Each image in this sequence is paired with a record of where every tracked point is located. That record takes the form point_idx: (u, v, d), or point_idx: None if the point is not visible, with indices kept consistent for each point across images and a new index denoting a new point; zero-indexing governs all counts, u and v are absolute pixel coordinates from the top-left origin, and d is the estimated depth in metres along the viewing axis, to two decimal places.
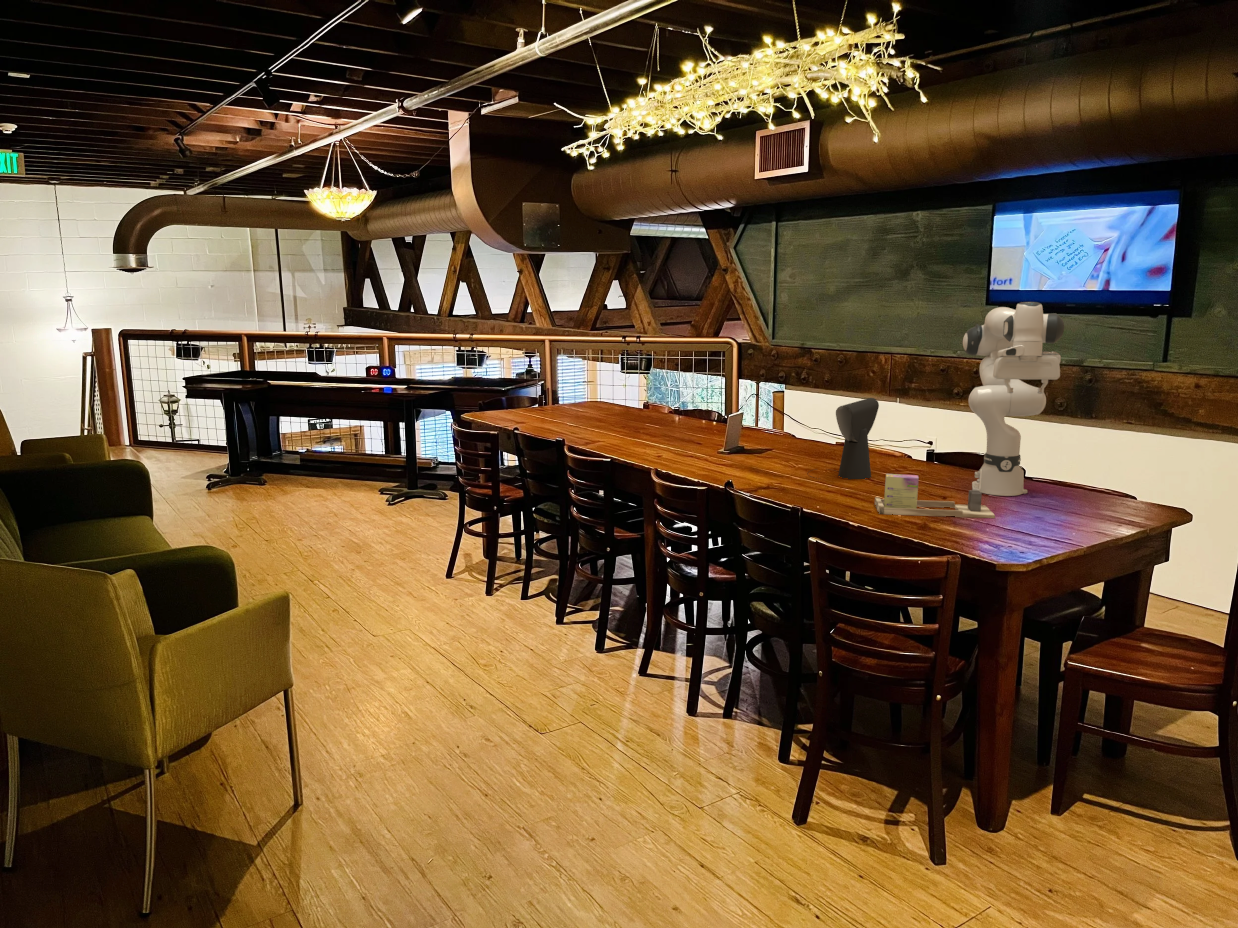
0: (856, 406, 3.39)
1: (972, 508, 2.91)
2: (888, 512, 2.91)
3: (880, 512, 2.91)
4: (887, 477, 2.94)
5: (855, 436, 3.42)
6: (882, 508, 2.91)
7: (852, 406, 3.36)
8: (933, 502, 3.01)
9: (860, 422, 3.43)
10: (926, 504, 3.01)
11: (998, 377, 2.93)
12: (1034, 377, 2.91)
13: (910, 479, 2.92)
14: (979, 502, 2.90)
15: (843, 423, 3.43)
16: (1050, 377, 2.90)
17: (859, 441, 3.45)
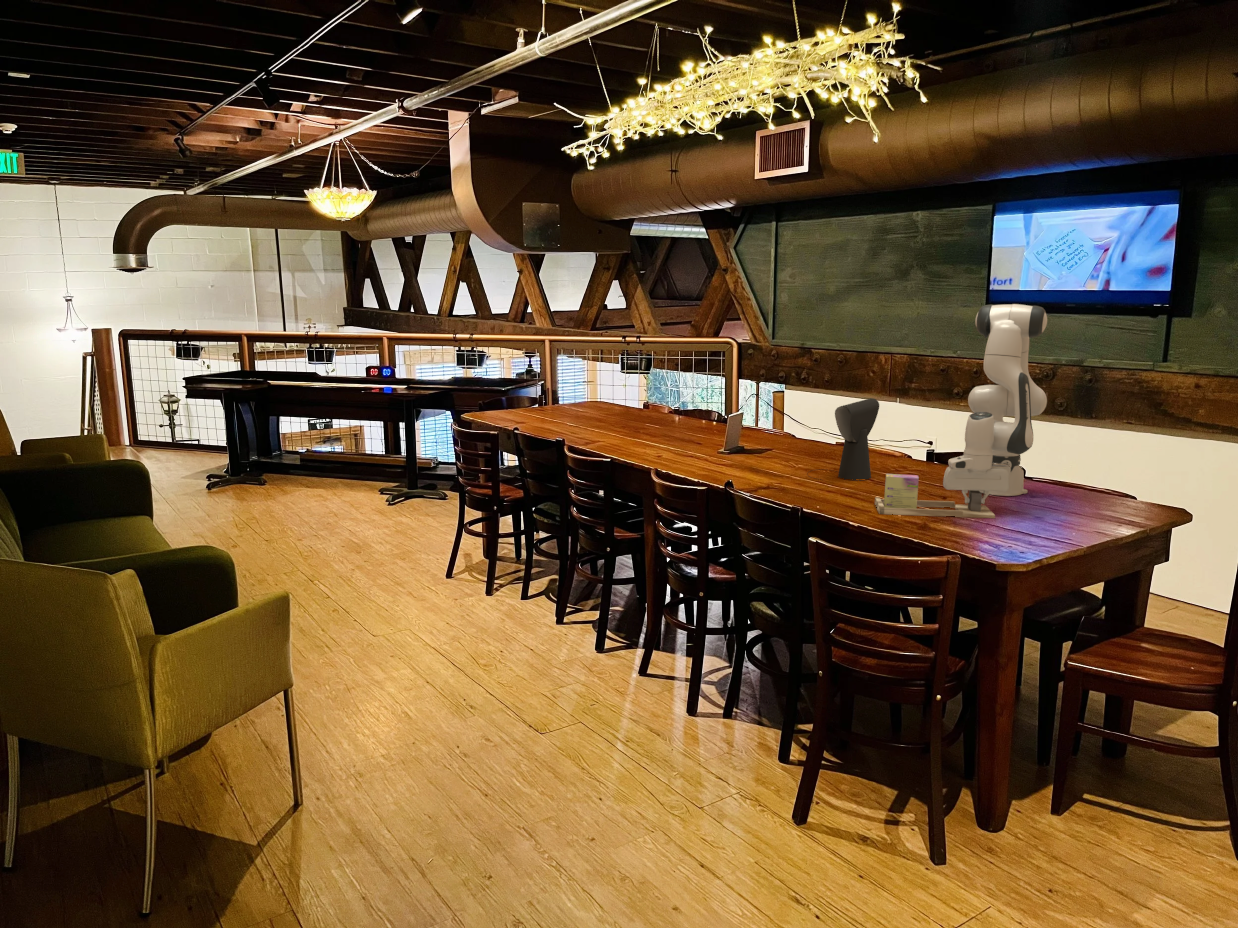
0: (855, 406, 3.38)
1: (972, 508, 2.91)
2: (888, 512, 2.91)
3: (880, 512, 2.91)
4: (887, 477, 2.94)
5: (854, 437, 3.40)
6: (882, 508, 2.91)
7: (851, 406, 3.35)
8: (933, 502, 3.01)
9: (859, 423, 3.42)
10: (926, 504, 3.01)
11: (947, 488, 2.91)
12: (983, 489, 2.90)
13: (910, 479, 2.92)
14: (979, 502, 2.90)
15: (842, 423, 3.42)
16: (999, 489, 2.89)
17: (859, 442, 3.44)
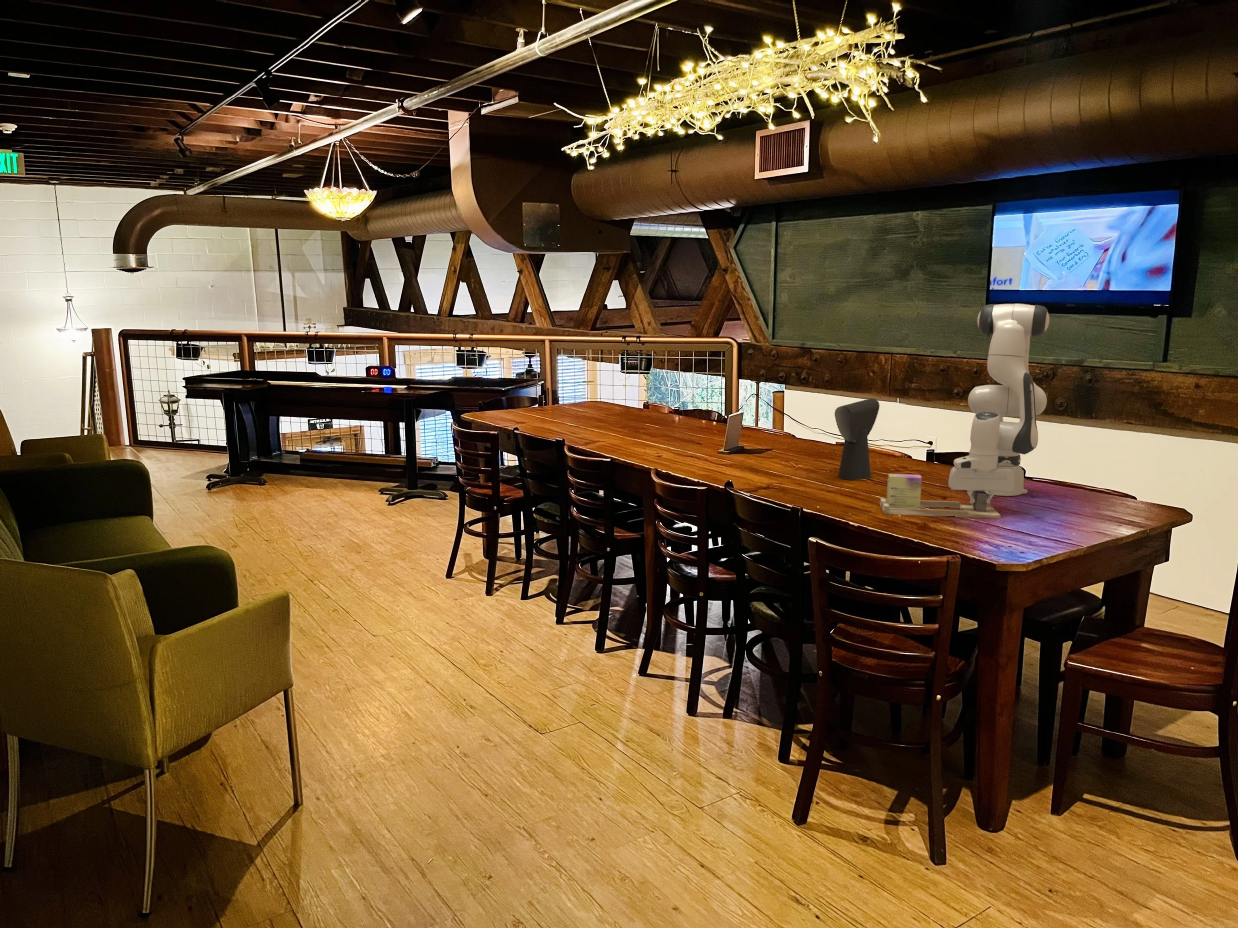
0: (855, 406, 3.38)
1: (977, 508, 2.90)
2: (893, 512, 2.91)
3: (885, 512, 2.91)
4: (890, 477, 2.93)
5: (854, 437, 3.40)
6: (887, 508, 2.91)
7: (851, 406, 3.35)
8: (938, 502, 3.00)
9: (859, 423, 3.41)
10: (931, 504, 3.01)
11: (953, 488, 2.91)
12: (989, 489, 2.89)
13: (913, 479, 2.92)
14: (984, 502, 2.90)
15: (842, 424, 3.42)
16: (1005, 489, 2.88)
17: (859, 442, 3.44)
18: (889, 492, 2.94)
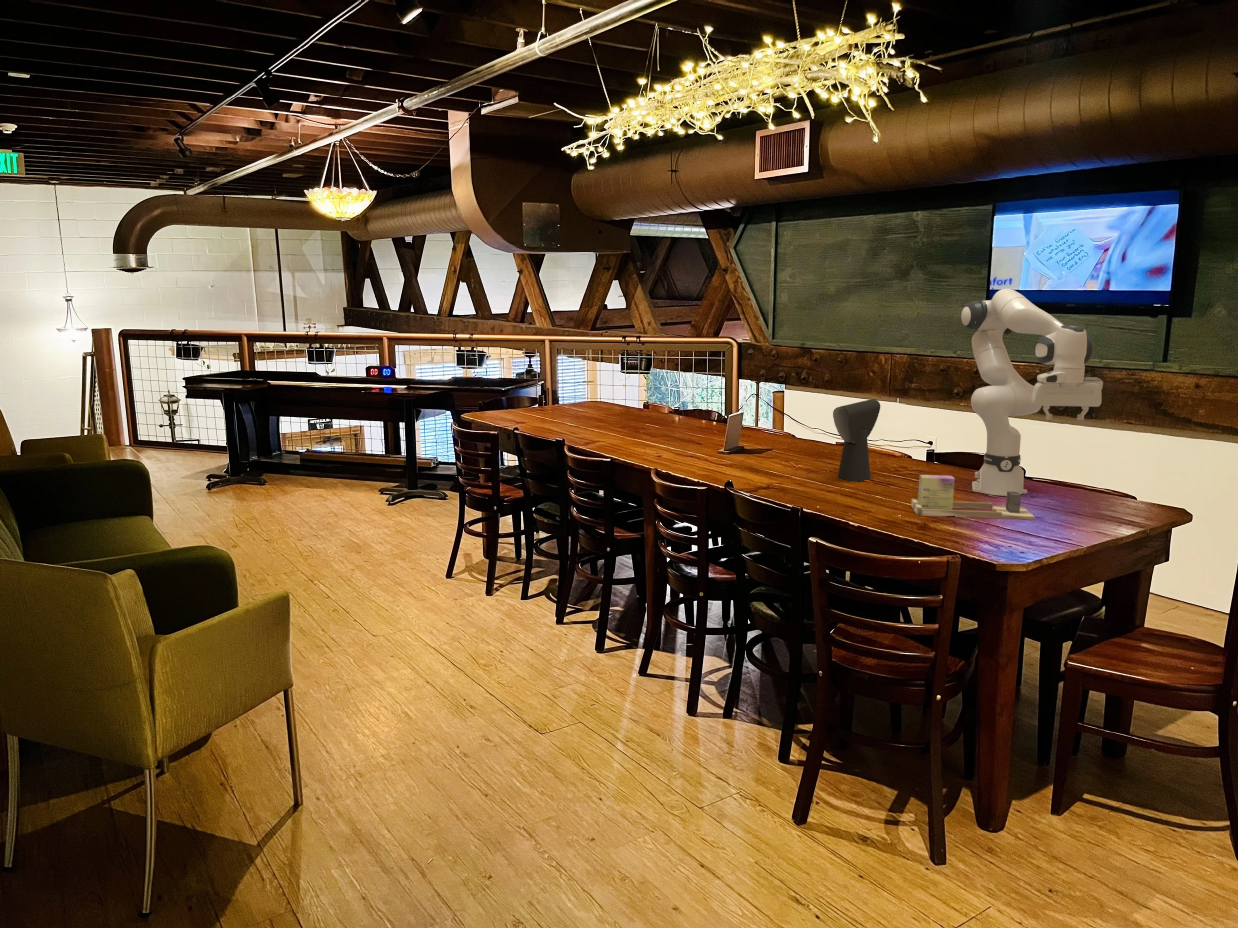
0: (854, 407, 3.35)
1: (1011, 509, 2.89)
2: (926, 513, 2.89)
3: (918, 513, 2.89)
4: (923, 478, 2.92)
5: (853, 437, 3.38)
6: (920, 509, 2.89)
7: (850, 407, 3.33)
8: (970, 503, 2.99)
9: (858, 423, 3.39)
10: (963, 505, 2.99)
11: (1037, 404, 2.84)
12: (1074, 404, 2.82)
13: (946, 480, 2.91)
14: (1018, 503, 2.88)
15: (841, 424, 3.40)
16: (1091, 404, 2.81)
17: (858, 443, 3.42)
18: (922, 493, 2.93)
